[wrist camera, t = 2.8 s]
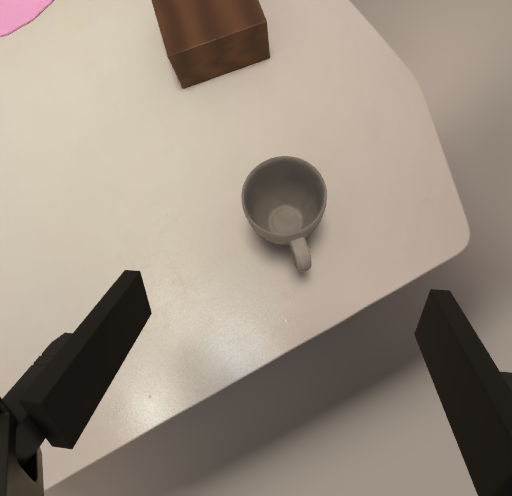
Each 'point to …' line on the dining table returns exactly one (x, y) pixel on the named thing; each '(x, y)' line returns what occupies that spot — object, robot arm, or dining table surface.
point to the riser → (211, 36)
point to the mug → (285, 203)
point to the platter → (19, 13)
